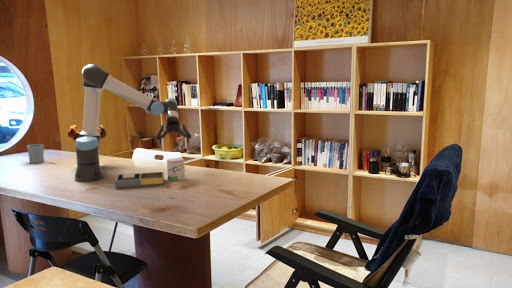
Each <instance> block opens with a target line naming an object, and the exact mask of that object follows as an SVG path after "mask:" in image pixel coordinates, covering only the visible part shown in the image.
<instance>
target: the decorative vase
mask: <svg viewBox="0 0 512 288" xmlns="http://www.w3.org/2000/svg"><path fill="white" fill-rule="evenodd" d="M69 129H70V130H68V132H67V137H68V138H71V139H72V140H74V141H75V142H76V139H78V138H79V133H80V132H81V131H82V129H78V127H77V125H76V124H73V125H71V126H70V128H69ZM98 132H99V134H100V140H102V139H104V138H105V137H106V136H107V131H106V129H105V128H104V126H103V125H101V124H99V125H98ZM99 164H100V167H101V168H103V167H105V164H104V163H99ZM76 169H77V168H76V167H75V170H76Z"/></svg>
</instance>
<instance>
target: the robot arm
mask: <svg viewBox="0 0 512 288" xmlns="http://www.w3.org/2000/svg"><path fill="white" fill-rule="evenodd" d="M81 77H82V89H84V101H83V115H82V129H81V130H82V131H81V132H80V133H79V138H78V139H76V141H75V144H74V146H75V152H76V165H77V166H76V167H77V169H76V168H75V173H74V180H75V181H76V182H93V181H98V180H102V179H103V178H104V171H103V170H102V167H100V164H101V163H100V148H101V139H100V134H99V132H98V127H99V125H100V123H99V121H100V107H101V95H102V94H101V92H102V91H103V90H104V89H105V90H107V91H109V92H111V93H113V94H114V95H117V96H119V97H121V98H123V99H124V100H126V101H129V103H130V102H131V103H132V104H134V105H136V106H138V107H139V108H142V109H144V110H145V113H147V114H152V115H154V116H160V115H162V114H164V115H165V122H166V123H165V124H166V125H163V124H162V125H161V128H160V129H159V131H158V133H157V134H156V136H155V139H156V141H159V145H161V150H162V151H164V138H166V137H167V135H169V134H170V133H171V134H172V133H175V134H176V133H177V134H179V136H180V135H181V136H182V137H183V138H184V143H185V144H184V145H185V149H188V144H189V142H190V141H189V139H191V138H192V134H191V133H190V132H189V130H188V129H187V128H186V125H185V124H182V125H180V119H179V107H178V101H177V100H176V98H172V97H169V98H166V99H165V101H158V100H155V99H153V98H152V97H150V96H148V95H146V94H144V93H143V92H142V91H141V92H140V91H139V90H137V89H135V88H133V87H132V86H130V85H128V84H126V83H124V82H122V81H121V80H118V79H117V78H115V77H113V76H112V75H111V73H109V72H107V71H106V70H105V69H103V68H102V67H101V66H100V65H98V64H95V63H89V64H87V65H85V66H83V68H82V70H81Z"/></svg>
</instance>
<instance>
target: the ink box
mask: <svg viewBox="0 0 512 288" xmlns="http://www.w3.org/2000/svg"><path fill="white" fill-rule="evenodd" d="M166 167H167V181H170V182H177V181H180V180H185V179H186V173H185V172H186V171H185V158H182V157H175V158H174V157H173V158H169V159H167V160H166Z"/></svg>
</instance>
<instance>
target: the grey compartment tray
mask: <svg viewBox="0 0 512 288" xmlns="http://www.w3.org/2000/svg"><path fill="white" fill-rule="evenodd" d="M114 182H115V183H114V185H115V190H123V189H136V188H149V187H151V188H152V187H164V186H165V173H164V171H156V172H140V173H139V172H138V173H135V172H131V173H123V174H117V176H116V178H115V181H114Z"/></svg>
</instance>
